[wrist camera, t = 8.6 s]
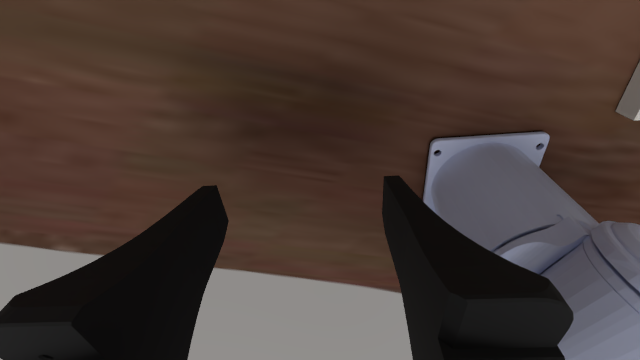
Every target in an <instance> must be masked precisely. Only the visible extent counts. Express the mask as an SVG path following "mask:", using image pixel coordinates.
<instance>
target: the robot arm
mask: <svg viewBox="0 0 640 360" xmlns="http://www.w3.org/2000/svg"><path fill="white" fill-rule="evenodd" d="M549 139H550V136H549V135H548V134H547V133H545V132H527V133H512V134H497V135H482V136H467V137H452V138H438V139H435V140H433V141H432V142H431V144H430V149H429V156H428V164H427V172H426V179H425V187H424V195H423V201H422V200H421V199H420V198H419V197H418V196H417V195H416V194H415V193H414V192H413V190H412V189H411V188H410V187H409V186H408V185H407V184H406V183H405V182H404V181H403V179H402V178H401V177H400V176H384V186H383V207H382V216H383V222H384V228H385V234H386V238H387V241H388V245H389V248H390V252H391V255H392V259H393V262H394V265H395V269H396V272H397V276H398V279H399V283H400V287H401V292H402V297H403V303H404V308H405V314H406V320H407V325H408V331H409V337H410V344H411V350H412V356H413V360H640V225H638V224H635V223H620V222H619V223H618V222H614V221H603V222H601V223H600V224H599V223H598V222H597V221H596V220H595V219H594V218H593V217H591V216H590V215H589V214H588V213H587V212H586V211H585V210H584V209H583V208H582V207H581V206H580V205H579V204H578V203H577V202H575V201H574V200H573V199H572V198H571V197H570V196H569V195H568V194H567V193H566V192H565V191H564V190H563V189H562V188H560V187H559V186H558V185H557V184H556V183H555V182H554V181H553V180H552V179H551V178H550V177H549V176H548V175H547V174H546V173H544V172H543V171H542V170H541V169H540V168H539V166H540V163H541V160H542V158H543V155H544V153H545V150H546V147H547V145H548V142H549ZM540 143H541V144H540ZM538 144H540V146H538V147H536V146H537V145H538ZM436 150H440V151H439V152H438V153H436V154H434V152H435V151H436ZM228 221H229V220H228V218H227V215H226V212H225V209H224V206H223V203H222V200H221V197H220V194H219V191H218V188H217V185H215V186H203V187H201V188H200V189H198V190H197V191H196V192H194V193H193V194H192V195H191V196H189V197H188V198H187V199H186V200H184V201H183V202H182V203H181V204H179V205H178V206H177V207H176V208H174V209H173V210H172V211H171V212H169V213H168V214H167V215H166V216H164V217H163V218H162V219H160V220H159V221H158V222H156V223H155V224H153V225H152V226H151V227H149V228H148V229H147V230H145V231H144V232H142V233H141V234H139V235H138V236H136V237H135V238H133V239H132V240H130V241H129V242H127V243H125V244H124V245H122V246H120V247H119V248H117V249H115V250H113V251H112V252H110V253H108V254H106V255H104V256H103V257H101V258H99V259H97V260H95V261H94V262H92V263H89V264H87V265H85V266H84V267H82V268H79V269H77V270H75V271H73V272H71V273H69V274H66V275H64V276H62V277H60V278H57V279H55V280H53V281H50V282H48V283H45V284H43V285H41V286H38V287H36V288H33V289H31V290H28V291H26V292H24V293H20V294H18V295H16V296H14V297H13V298H12V300H11V301H10V302H9V303H8V304H7V305H6V306H5V307H4V308H3V309H2V310H1V311H0V358H1V359H3V360H187V358H188V353H189V348H190V344H191V339H192V336H193V331H194V327H195V323H196V319H197V315H198V312H199V308H200V304H201V301H202V297H203V294H204V291H205V288H206V285H207V282H208V280H209V278H210V275H211V273H212V270H213V268H214V265H215V263H216V260H217V258H218V255H219V252H220V250H221V247H222V245H223V242H224V238H225V234H226V230H227V226H228Z"/></svg>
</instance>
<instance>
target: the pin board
mask: <svg viewBox="0 0 640 360" xmlns="http://www.w3.org/2000/svg"><path fill="white" fill-rule="evenodd" d="M615 112H617V113H619V114H621V115H623V116H625V117H627V118H629V119H631V120H634V121H635V120H640V61H639V63H638V65H637V68H636V70H635V72H634V74H633V76H632V78H631V80H630V82H629V84H628V86H627V88H626V90H625V92H624V94H623V96H622V98H621V100H620V102H619V105H618V107H617V109H616V111H615Z"/></svg>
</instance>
